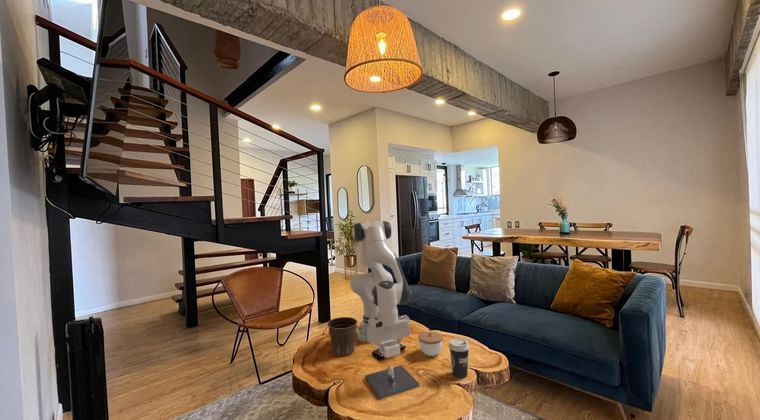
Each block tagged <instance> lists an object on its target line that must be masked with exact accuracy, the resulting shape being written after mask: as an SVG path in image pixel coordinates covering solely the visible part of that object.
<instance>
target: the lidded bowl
mask: <svg viewBox="0 0 760 420" xmlns="http://www.w3.org/2000/svg"><path fill="white" fill-rule="evenodd" d="M443 337H444V336H443V335H442V334H441V333H439V332H437V331H431V330H430V331H423V332H421V333H419V335H418V336H417V338H418V344H419V345H418V346H419V349H420V350H421V352H422V353H423V354H424V355H425V356H426V355H428V356H427V357H430V356H433V357H437V356H438V355H439V354H440V352H441V351H442V348H443ZM437 354H438V355H437ZM436 355H437V356H436Z"/></svg>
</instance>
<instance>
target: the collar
mask: <svg viewBox="0 0 760 420" xmlns="http://www.w3.org/2000/svg"><path fill="white" fill-rule="evenodd" d="M380 346H382V347H383V348H384V349H383V350H384V351H383V352H380V353H381V354H382V355H383V356H384V358H386V359H387V358H391V357H396V356H399V355H401V344H400V345H399V344H398V343H397V341H396V340H395V339H393V340H389V341H385V342H381V345H380Z"/></svg>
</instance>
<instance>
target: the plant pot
mask: <svg viewBox="0 0 760 420" xmlns="http://www.w3.org/2000/svg"><path fill="white" fill-rule="evenodd" d="M357 324H358V320H357V319H356V318H354V317H349V316H342V317H336V318H333V319H331V320H329V321H328V322H327V328H328V332H329V336H330V342H331V350H332V353H333V355H334V356H337V357H347V356H348V355H349V356H350V355H352V354H354V352H355V350H356V334H357V333H356V330H357Z"/></svg>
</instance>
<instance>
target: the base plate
mask: <svg viewBox="0 0 760 420" xmlns="http://www.w3.org/2000/svg"><path fill="white" fill-rule="evenodd" d="M364 380H365V381H366V382H367V384H368V386H369V387H370V388H371V389H372V391H373V393H374V394H375V395H376V396H377V398H378V400H382V399H385V398H387V397H390V396H393V395H397V394H401V393H403V392H406V391H409V390H413V389H416V388H418V387H420V382H419V381H418V380H417V379H416V378H415V377H414V376H413V375H412V374H411V373H410V371H409V372H408V371H407V369H406V368H405V367H403V365H398V366H397V365H396V366H391V365H390V366H388V367H387V368H386V369H383V370H380V371H377V372H372V373H370V374H366V375H364Z"/></svg>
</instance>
